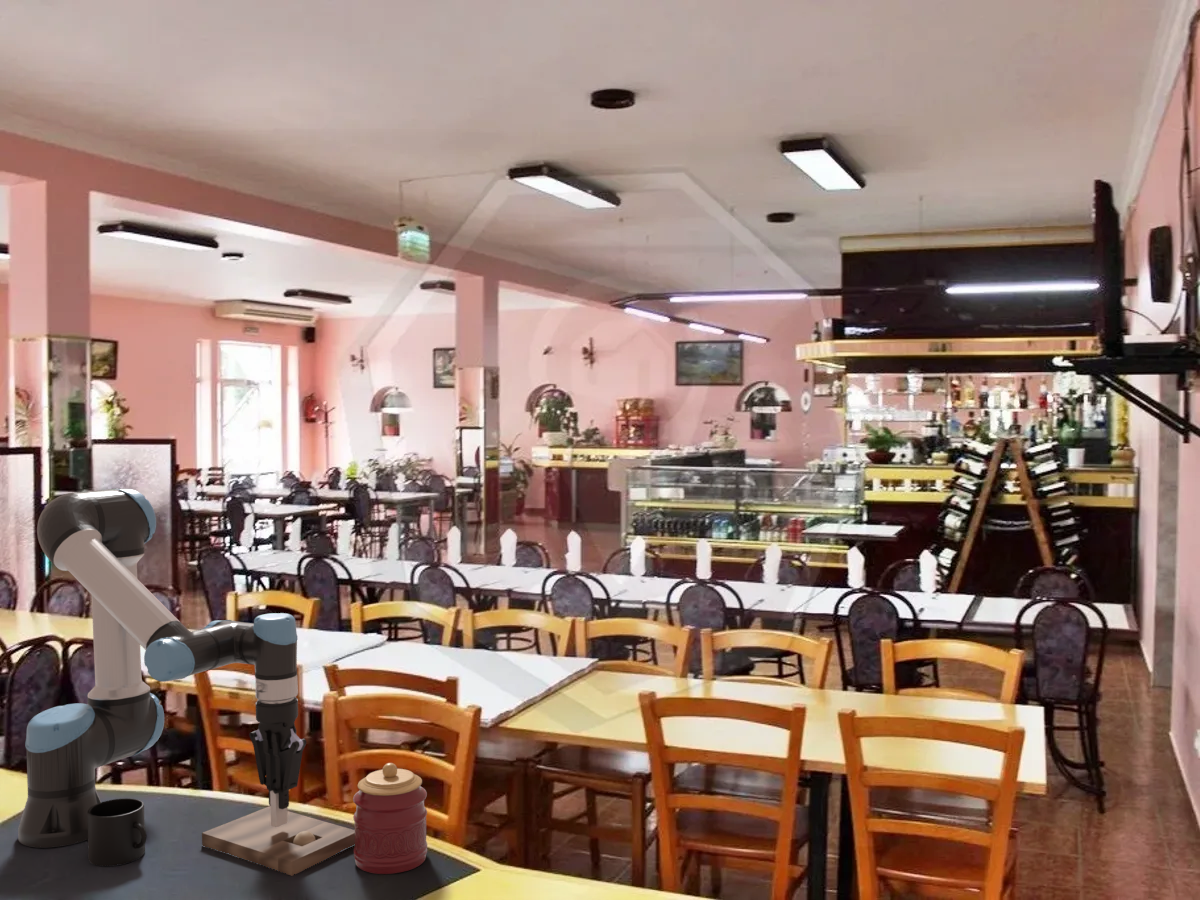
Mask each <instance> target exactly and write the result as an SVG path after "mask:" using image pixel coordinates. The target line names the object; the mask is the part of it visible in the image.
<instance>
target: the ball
mask: <svg viewBox="0 0 1200 900" xmlns="http://www.w3.org/2000/svg"><path fill="white" fill-rule="evenodd" d="M315 840H316V839H315V836H314V835H313V834H312V833H311V832H308V831H303V832H300V833H298V834H297V835H296V836H295V838H294V841H293V844H295V845H299V846H304V845H307V844H309V843H311V842H313V841H315Z"/></svg>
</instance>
